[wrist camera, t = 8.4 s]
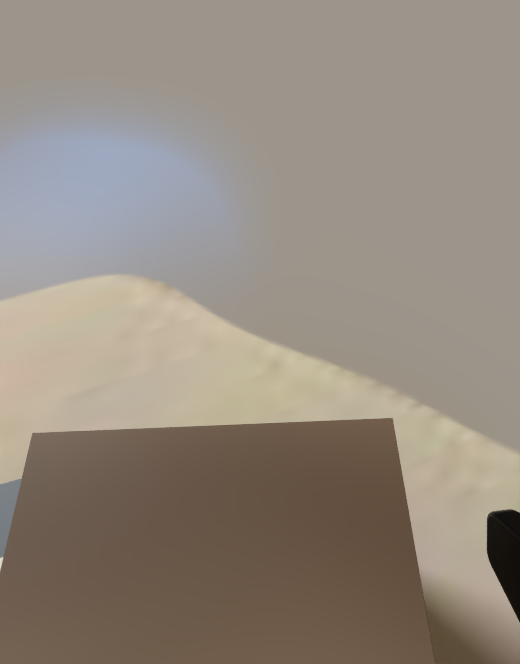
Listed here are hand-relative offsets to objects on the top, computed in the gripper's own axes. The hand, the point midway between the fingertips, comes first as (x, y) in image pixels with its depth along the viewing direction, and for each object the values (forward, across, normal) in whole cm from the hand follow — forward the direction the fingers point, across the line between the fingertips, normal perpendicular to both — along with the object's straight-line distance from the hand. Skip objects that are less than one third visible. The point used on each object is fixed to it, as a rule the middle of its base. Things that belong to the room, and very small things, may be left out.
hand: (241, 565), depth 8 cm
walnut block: (+5, 0, +6) cm, 8 cm away
